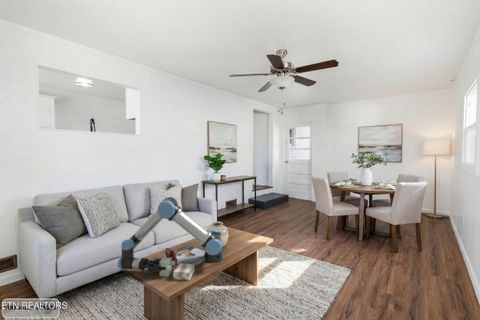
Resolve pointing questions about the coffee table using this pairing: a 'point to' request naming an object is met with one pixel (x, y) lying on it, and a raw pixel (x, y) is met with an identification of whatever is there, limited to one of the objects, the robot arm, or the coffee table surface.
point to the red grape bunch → (171, 254)
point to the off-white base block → (184, 271)
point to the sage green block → (166, 262)
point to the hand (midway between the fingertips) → (172, 265)
